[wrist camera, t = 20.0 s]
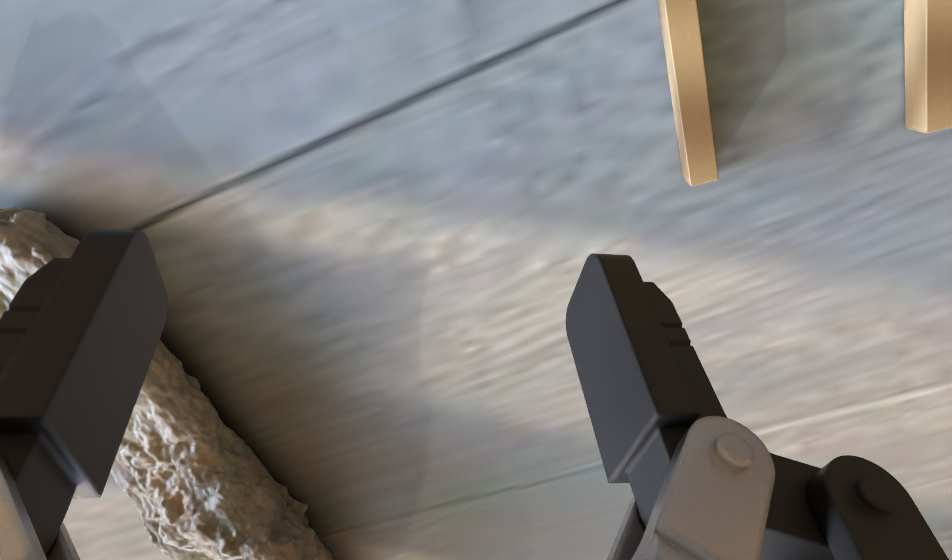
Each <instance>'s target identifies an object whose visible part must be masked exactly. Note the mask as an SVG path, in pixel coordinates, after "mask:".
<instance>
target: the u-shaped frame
mask: <svg viewBox="0 0 952 560" xmlns="http://www.w3.org/2000/svg"><path fill="white" fill-rule="evenodd" d="M657 1H658V7H659V14H660V21H661V28H662V35H663V42H664V49H665V56H666V63H667V70H668V76H669V83H670V90H671V97H672V104H673V111H674V118H675V125H676V132H677V138H678V145H679V152H680V159H681V166H682V173H683V179H684V180H685V181H686V182H687V183H688V184H689V185H690V186H694V185H698V184H703V183H707V182H711V181H716V180H718V179H719V178H718V170H717V162H716V154H715V146H714V138H713V130H712V122H711V114H710V106H709V98H708V90H707V81H706V73H705V65H704V57H703V49H702V41H701V33H700V25H699V17H698V9H697V1H696V0H657ZM904 46H905V128H906V129H909V130H914V131H920V132H925V133H929V132H933V131H938V130H942V129H946V128H951V127H952V0H904Z"/></svg>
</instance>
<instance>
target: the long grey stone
mask: <svg viewBox="0 0 952 560" xmlns="http://www.w3.org/2000/svg"><path fill="white" fill-rule="evenodd" d="M45 218H46V214H45V213H42V212H37V211H32V210H28V209H18V208H8V209H0V318H1V317H2V315H3V313H4V312H5V311H8V310H9V304H10V303H11V301H12V300H13V298H14V297H15V295H16V293H17V292H18V290H19V289H20V287H21V286H22V284H23V283H24V281H25V280H26V279H27V278H28V277H30V276H31V275H32V274H34V273H35V272H36V271H38V270H39V269H40V268H41V267H43V266H44V265H45V264H47V263H48V262H49V261H51V260H52V259H53V258H71V256H72V255H73V253H74V251H75V250H76V248H77V246H78V245H79V243H80V241H79V240H78V239H75V238H73V237H71V236H68V235H66V234H64V233H63V232H62V231H61V230H60V228H58V227H56V226H55V225H54V224H53V223H52V222H50V221H47V220H46V219H45ZM111 474H112V475H113V476H114V478H115V482H116V483H117V484H118V485H119V486H120V487H121V488H122V490H123V491H124V492H125V493H126V494H127V495H128V496H129V497H130V499H131V500H132V501H133V503H134V504H135V506H136V507H137V509H138V510H139V512H140V520H141V521H142V523H143V526H144V527H145V528H146V530H147V532H148V533H149V536H150V541H151V542H152V544H153V545H154V546H155V547H156V548H157V549H158V550H161V551H163V552H164V553H165V554H167V555H168V556H170V557H171V558H172V559H173V560H333V558H332V557H331V553H330V551H329V550H328V549H326V547H325V546H324V544H323V543H322V542H321V541H320V540H319V538H318V536H317V534H316V533H315V532H314V530H313V529H311V528H310V526H309V525H308V524H307V523H308V518H307V517H305V516H304V513H305V511H306V510H307V508H308V505H307V504H306V503H301V502H299V501H297V500H295V499H294V498H292V497H291V496H290V494H289V492H288V491H287V487H286V486H284V485H281V484H279V483H277V482H275V481H274V479H273V478H272V476H271V475H270V474H269V473H268V471H267V469H266V468H265V466H264V465H263V464H262V463H261V461H260V460H259V458H258V457H257V456H256V455H255V454H254V452H253V451H252V450H251V448H250V447H249V446H247V445H246V444H245V441H244V440H243V439H241V438H240V437H239V436H238V435H236V434H235V432H234V431H233V430H231V429H229V428H228V427H226V426H225V425H224V423H222V421H221V419H220V418H219V415H218V413H217V411H216V409H215V408H214V407H213V406H212V404H211V402H210V399H209V398H207V397H206V396H205V395H204V394H203V393H202V392H201V391H200V383H199V381H198V380H197V379H196V378H195V377H192V376H190V375H188V374H187V373H186V372H184V370H183V367H182V362H181V361H180V360H178V359H177V358H176V357H175V356H174V355H173V354H172V353H171V352H169V351H168V350H167V348H166V347H165V345H164V344H163V343H162V341H160V340H159V342H158V345H157V348H156V351H155V353H154V356H153V359H152V361H151V364H150V367H149V369H148V372H147V375H146V377H145V380H144V383H143V385H142V388H141V391H140V393H139V396H138V399H137V401H136V404H135V407H134V409H133V412H132V415H131V417H130V420H129V423H128V425H127V428H126V431H125V434H124V436H123V439H122V442H121V444H120V447H119V450H118V452H117V455H116V458H115V460H114V463H113V466H112V468H111Z"/></svg>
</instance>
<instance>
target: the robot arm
mask: <svg viewBox="0 0 952 560" xmlns="http://www.w3.org/2000/svg"><path fill="white" fill-rule="evenodd" d="M167 308H168V303H167V294H166V290H165V287H164V284H163V281H162V278H161V275H160V272H159V269H158V266H157V263H156V260H155V257H154V254H153V251H152V248H151V245H150V242H149V240H148V237H147V235H146V234H145V233H144V232H143V231H138V230H117V229H96V228H93V229H90V230H88V231H87V232H86V233H85V235H84V236H83V238H82V239H81V241H80V243H79V245H78V246H77V248H76V250H75V251H74V253H73V255H72V256H71V258H53V259H52V260H51V261H49V262H48V263H47V264H45V265H44V266H43V267H41V268H40V269H39V270H38V271H36V272H35V273H34V274H32V275H31V276H30V277H28V278H27V279H26V280H25V281H24V283H23V284H22V286H21V287H20V289H19V290H18V292H17V293H16V295H15V297H14V298H13V300H12V301H11V303H10V304H9V310H8V311H5V312H4V313H3V315H2V317H1V318H0V560H80V558H79V556H78V554H77V552H76V549H75V547H74V545H73V543H72V540H71V538H70V536H69V534H68V532H67V529H66V527H65V525H64V524H63V520H64V517H65V515H66V512H67V510H68V507H69V505H70V502H71V500H72V498H96V497H101V495H102V492H103V490H104V487H105V484H106V482H107V479H108V476H109V474H110V471H111V468H112V466H113V463H114V460H115V458H116V455H117V452H118V450H119V447H120V444H121V442H122V439H123V436H124V434H125V431H126V428H127V425H128V423H129V420H130V417H131V415H132V412H133V409H134V407H135V404H136V401H137V399H138V396H139V393H140V391H141V388H142V385H143V383H144V380H145V377H146V375H147V372H148V369H149V367H150V364H151V361H152V359H153V356H154V353H155V351H156V348H157V345H158V342H159V340H160V337H161V334H162V332H163V329H164V326H165V323H166V318H167ZM566 331H567V336H568V340H569V343H570V347H571V350H572V354H573V358H574V361H575V365H576V368H577V372H578V375H579V379H580V383H581V386H582V390H583V393H584V397H585V400H586V404H587V407H588V411H589V415H590V418H591V422H592V425H593V429H594V432H595V436H596V440H597V443H598V447H599V450H600V454H601V457H602V461H603V465H604V468H605V472H606V475H607V479H608V482H609V483H630V485H631V488H632V491H633V494H634V498H633V499H632V500H631V502H630V504H629V506H628V508H627V511H626V513H625V516H624V518H623V521H622V523H621V526H620V528H619V531H618V533H617V536H616V538H615V541H614V543H613V545H612V548H611V550H610V553H609V555H608V558H607V560H949V559H948V558H947V556H946V554H945V553H944V551H943V549H942V548H941V546H940V544H939V543H938V541H937V539H936V538H935V536H934V535H933V533H932V531H931V530H930V528H929V526H928V525H927V523H926V521H925V520H924V518H923V516H922V515H921V513H920V511H919V510H918V508H917V507H916V505H915V503H914V502H913V500H912V498H911V497H910V495H909V494H908V492H907V491H906V490H905V489H904V487H903V486H902V485H901V484H900V483H899V482H898V481H897V480H896V479H895V478H894V477H893V476H892V475H891V474H889V473H888V472H887V471H886V470H884V469H883V468H881V467H880V466H878V465H876V464H875V463H873V462H871V461H868V460H866V459H864V458H860V457H857V456H850V455H847V456H840V457H837V458H835V459H833V460H832V461H831V462H829V463H828V464H827V465H826V466H824V467H823V468H822V469H821V468H818V467H814V466H811V465H808V464H804V463H801V462H798V461H794V460H791V459H788V458H784V457H781V456H778V455H775V454H772V453H769V451H768V450H767V448H766V446H765V445H764V444H763V442H762V441H761V440H760V439H759V438H758V437H757V436H756V435H755V434H754V433H753V432H752V431H750V430H749V429H748V428H747V427H745V426H743V425H742V424H740V423H738V422H736V421H734V420H732V419H729V418H727V416H726V414H725V413H724V411H723V409H722V407H721V404H720V402H719V400H718V398H717V396H716V394H715V392H714V390H713V388H712V385H711V383H710V381H709V379H708V377H707V375H706V373H705V371H704V369H703V367H702V364H701V362H700V360H699V358H698V356H697V354H696V352H695V350H694V348H693V346H690V342H691V341H690V339H689V337H688V335H687V333H686V331H685V329H684V328H682V322H681V320H680V318H679V316H678V314H677V312H676V310H675V307H674V305H673V303H672V302H671V300H670V299H669V298H668V297H667V296H666V295H665V294H664V293H663V292H662V291H661V290H660V289H659V288H658V287H657V286H656V285H655V284H654V283H653V282H643V280H642V278H641V276H640V274H639V271H638V269H637V267H636V265H635V262H634V260H633V259H632V258H631V257H630V256H628V255H611V254H591V255H589V256H588V258H587V260H586V262H585V264H584V267H583V269H582V272H581V274H580V277H579V279H578V282H577V284H576V287H575V289H574V292H573V294H572V297H571V299H570V302H569V304H568V308H567V313H566Z"/></svg>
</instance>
